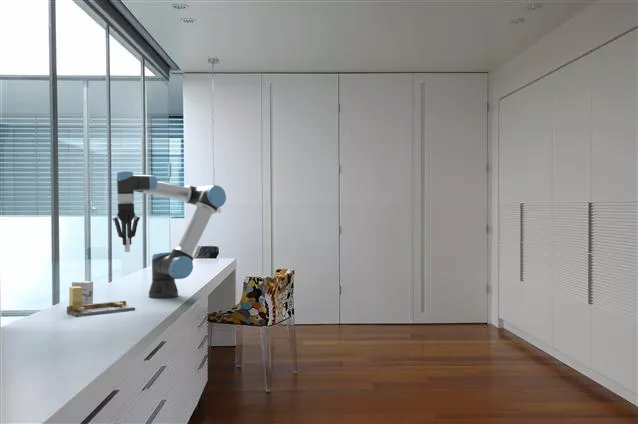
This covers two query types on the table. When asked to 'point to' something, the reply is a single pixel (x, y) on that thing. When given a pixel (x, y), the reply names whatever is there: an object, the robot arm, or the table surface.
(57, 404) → the table surface
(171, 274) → the robot arm
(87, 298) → the ink box
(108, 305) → the beam
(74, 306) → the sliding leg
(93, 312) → the gray rectangular panel
